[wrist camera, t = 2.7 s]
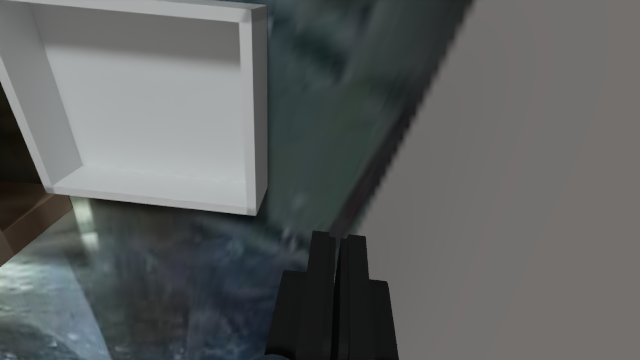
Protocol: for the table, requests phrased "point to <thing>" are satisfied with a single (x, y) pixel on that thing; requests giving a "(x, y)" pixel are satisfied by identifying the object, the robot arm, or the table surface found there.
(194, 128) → the white open tray
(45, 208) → the tan slab
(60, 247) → the table surface
